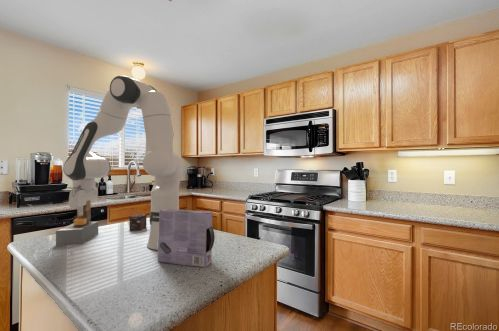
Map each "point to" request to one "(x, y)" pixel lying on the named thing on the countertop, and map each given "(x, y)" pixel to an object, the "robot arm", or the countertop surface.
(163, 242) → the cake pan box
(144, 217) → the box
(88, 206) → the brown wooden block
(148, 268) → the countertop surface
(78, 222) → the switch tab
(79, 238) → the switch box
